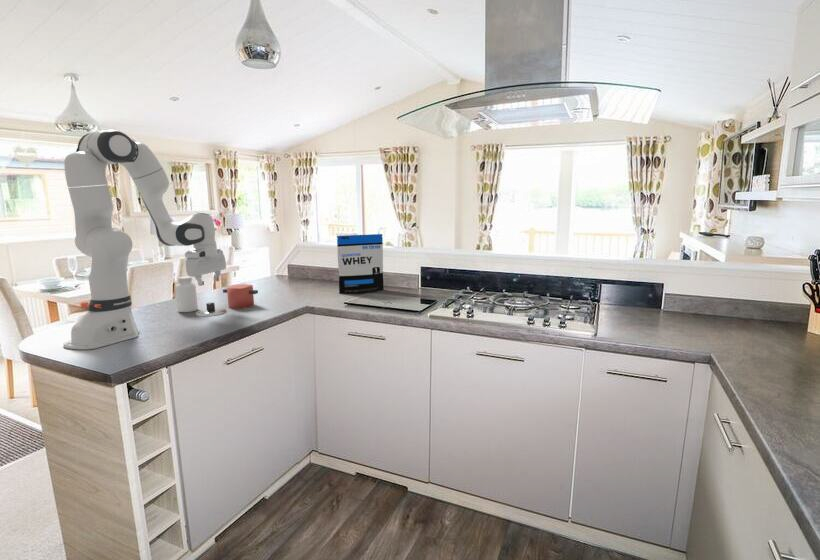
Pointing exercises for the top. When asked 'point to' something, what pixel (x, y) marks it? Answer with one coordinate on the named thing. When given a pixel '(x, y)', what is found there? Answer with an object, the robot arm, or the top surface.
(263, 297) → the top surface
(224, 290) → the pot
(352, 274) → the protein powder
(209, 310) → the lid
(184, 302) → the pill bottle
